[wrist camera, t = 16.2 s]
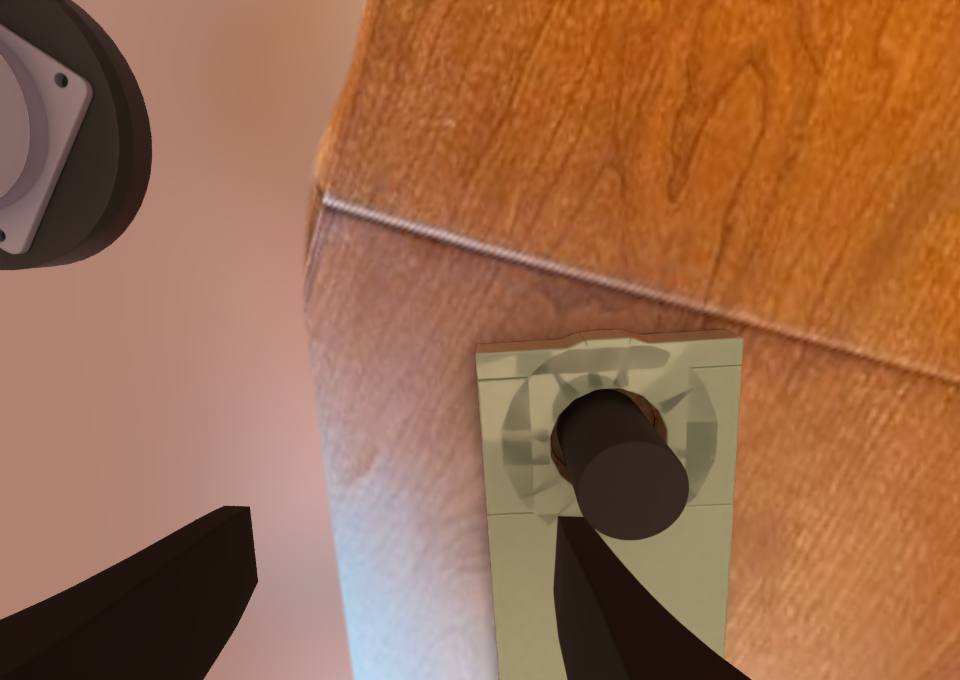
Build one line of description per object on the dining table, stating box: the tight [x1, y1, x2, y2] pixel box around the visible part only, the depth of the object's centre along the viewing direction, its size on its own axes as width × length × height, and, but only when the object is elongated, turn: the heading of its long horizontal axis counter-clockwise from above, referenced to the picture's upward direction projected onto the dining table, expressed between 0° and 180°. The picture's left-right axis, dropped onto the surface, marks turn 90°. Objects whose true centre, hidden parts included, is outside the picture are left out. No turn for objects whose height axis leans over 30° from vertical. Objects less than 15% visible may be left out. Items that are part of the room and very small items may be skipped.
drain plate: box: [475, 329, 744, 680], centre depth 21 cm, size 20×10×2 cm, turn 4°
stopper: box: [557, 389, 689, 540], centre depth 18 cm, size 4×4×5 cm
